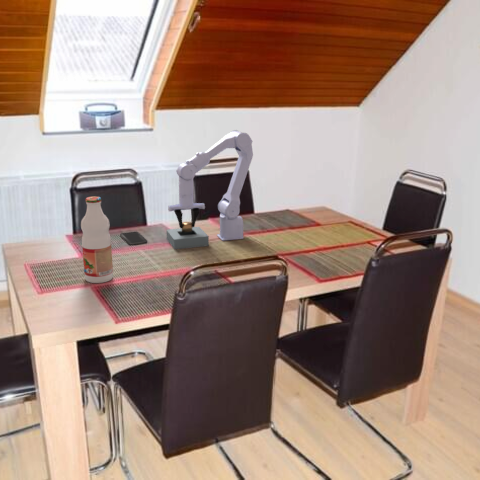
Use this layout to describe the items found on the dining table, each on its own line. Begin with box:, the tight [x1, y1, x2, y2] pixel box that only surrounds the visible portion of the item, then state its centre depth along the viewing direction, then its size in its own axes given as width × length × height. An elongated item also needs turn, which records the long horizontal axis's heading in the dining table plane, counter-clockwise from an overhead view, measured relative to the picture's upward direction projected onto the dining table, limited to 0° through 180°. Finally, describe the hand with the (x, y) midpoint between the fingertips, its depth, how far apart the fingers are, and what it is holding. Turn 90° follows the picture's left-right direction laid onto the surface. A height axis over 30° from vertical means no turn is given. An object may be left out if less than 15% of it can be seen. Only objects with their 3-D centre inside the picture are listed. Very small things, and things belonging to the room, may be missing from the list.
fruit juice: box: [80, 195, 114, 284], centre depth 184 cm, size 9×9×28 cm
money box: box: [165, 226, 210, 250], centre depth 225 cm, size 14×14×4 cm
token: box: [182, 221, 192, 232], centre depth 224 cm, size 4×4×3 cm
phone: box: [119, 231, 148, 246], centre depth 229 cm, size 8×1×15 cm
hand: (186, 227), depth 224 cm, fingers closed on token, 4 cm apart
